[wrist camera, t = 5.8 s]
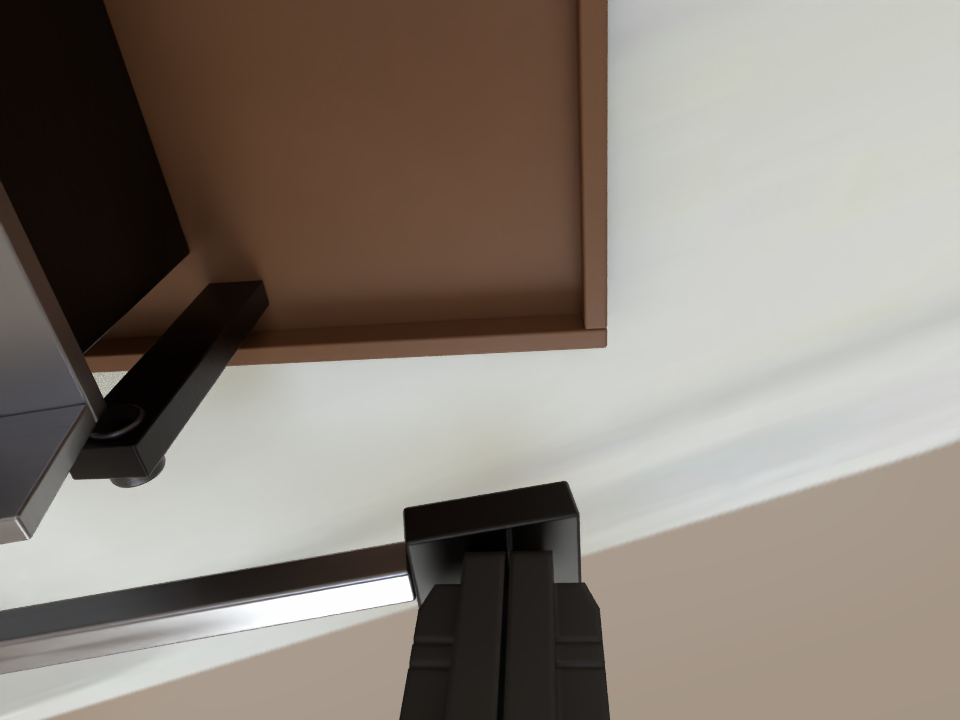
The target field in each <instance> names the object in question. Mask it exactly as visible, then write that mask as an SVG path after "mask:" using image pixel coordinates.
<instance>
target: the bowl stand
mask: <svg viewBox="0 0 960 720" xmlns="http://www.w3.org/2000/svg"><path fill="white" fill-rule="evenodd" d="M0 180H1V183H2V185H3V187H4V189H5V191H6V193H7V195H8V197H9V199H10V202H11V204H12V206H13V208H14V210H15V212H16V214H17V216H18V218H19V221H20V223H21V225H22V227H23V229H24V231H25V233H26V235H27V238H28V240H29V242H30V244H31V246H32V248H33V250H34V252H35V254H36V257H37V259H38V261H39V263H40V265H41V267H42V269H43V271H44V273H45V276H46V278H47V280H48V282H49V284H50V286H51V288H52V290H53V292H54V295H55V297H56V299H57V301H58V303H59V305H60V307H61V309H62V311H63V314H64V316H65V318H66V320H67V322H68V324H69V326H70V328H71V330H72V333H73V335H74V337H75V339H76V341H77V343H78V345H79V347H80V350H81V352H82V354H84V353H85V352H87V351H88V350H89V349H90V348H91V347H92V346H93V345H94V344H95V343H96V342H97V341H98V340H99V339H100V338H101V337H102V336H103V335H104V334H106V333H107V332H108V331H109V330H110V329H111V328H112V327H113V326H114V325H115V324H116V323H117V322H118V321H119V320H120V319H121V318H122V317H123V316H125V315H126V314H127V313H128V312H129V311H130V310H131V309H132V308H133V307H134V306H135V305H136V304H137V303H138V302H139V301H140V300H141V299H142V298H144V297H145V296H146V295H147V294H148V293H149V292H150V291H151V290H152V289H153V288H154V287H155V286H156V285H157V284H158V283H159V282H160V281H161V280H163V279H164V278H165V277H166V276H167V275H168V274H169V273H170V272H171V271H172V270H173V269H174V268H175V267H176V266H177V265H178V264H179V263H180V262H182V261H183V260H184V259H185V258H186V257H187V256H188V255H189V254H190V251H189V248H188V245H187V242H186V239H185V237H184V234H183V231H182V228H181V225H180V222H179V219H178V216H177V213H176V210H175V207H174V205H173V202H172V199H171V196H170V193H169V190H168V187H167V184H166V181H165V178H164V176H163V173H162V170H161V167H160V164H159V161H158V158H157V155H156V152H155V149H154V147H153V144H152V141H151V138H150V135H149V132H148V129H147V126H146V123H145V120H144V117H143V115H142V112H141V109H140V106H139V103H138V100H137V97H136V94H135V91H134V88H133V86H132V83H131V80H130V77H129V74H128V71H127V68H126V65H125V62H124V59H123V57H122V54H121V51H120V48H119V45H118V42H117V39H116V36H115V33H114V30H113V27H112V25H111V22H110V19H109V16H108V13H107V10H106V7H105V4H104V1H103V0H0ZM268 306H269V301H268V298H267V294H266V291H265V288H264V284H263V281H262V280H256V281H240V282H224V283H209V284H208V285H207V286H206V287H205V288H204V289H203V290H202V291H201V293H200V294H199V295H198V296H197V297H196V298H195V299H194V300H193V301H192V302H191V304H190V305H189V306H188V307H187V308H186V309H185V310H184V311H183V312H182V313H181V314H180V316H179V317H178V318H177V319H176V320H175V321H174V322H173V323H172V324H171V325H170V327H169V328H168V329H167V330H166V331H165V332H164V333H163V334H162V335H161V336H160V337H159V339H158V340H157V341H156V342H155V343H154V344H153V345H152V346H151V347H150V348H149V350H148V351H147V352H146V353H145V354H144V355H143V356H142V357H141V358H140V359H139V360H138V362H137V363H136V364H135V365H134V366H133V367H132V368H131V369H130V370H129V371H128V373H127V374H126V375H125V376H124V377H123V378H122V379H121V380H120V381H119V382H118V383H117V385H116V386H115V387H114V388H113V389H112V390H111V391H110V392H109V393H108V394H107V396H106V397H105V398H104V400H105V402H106V404H107V407H106V409H105V411H104V413H103V414H102V416H101V418H100V420H99V421H98V422H97V423H96V426H95V428H94V430H93V431H92V433H91V435H90V437H89V438H88V440H87V442H86V444H85V445H84V447H83V449H82V451H81V452H80V454H79V456H78V458H77V459H76V461H75V463H74V465H73V466H72V468H71V470H70V474H71V476H72V478H73V479H75V480H80V479H110V481H111V482H112V483H113V484H115V485H116V486H118V487H122V488H130V487H135V486H139V485H142V484H144V483H147V482H149V481H150V480H152V479H154V478H155V477H156V476H157V475H159V474H160V473H161V471H162V470H163V468H164V466H165V456H164V455H165V453H166V452H167V450H168V449H169V447H170V446H171V445H172V443H173V442H174V440H175V439H176V437H177V436H178V435H179V433H180V432H181V430H182V429H183V427H184V426H185V425H186V423H187V422H188V420H189V419H190V417H191V416H192V415H193V413H194V412H195V410H196V409H197V407H198V406H199V405H200V403H201V402H202V400H203V399H204V397H205V396H206V395H207V393H208V392H209V390H210V389H211V387H212V386H213V385H214V383H215V382H216V380H217V379H218V377H219V376H220V375H221V373H222V372H223V370H224V369H225V367H226V366H227V365H228V363H229V362H230V360H231V359H232V357H233V356H234V355H235V353H236V352H237V350H238V349H239V347H240V346H241V345H242V343H243V342H244V340H245V339H246V337H247V336H248V335H249V333H250V332H251V330H252V329H253V327H254V326H255V325H256V323H257V322H258V320H259V319H260V317H261V316H262V315H263V313H264V312H265V310H266V309H267V307H268Z"/></svg>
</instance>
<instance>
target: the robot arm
mask: <svg viewBox="0 0 960 720" xmlns="http://www.w3.org/2000/svg"><path fill="white" fill-rule="evenodd" d="M409 664H410V666H409V669H408V673H407V679H406V685H405V691H404V696H403V702H402V707H401V714H400V719H399V720H610V714H609V704H608V693H607V682H606V672H605V661H604V650H603V640H602V628H601V618H600V608H599V607H598V605H597V603H596V601H595V600H594V598H593V596H592V594H591V593H590V591H589V589H588V588H587V586H586V584H585V583H554V566H553V551H552V550H547V551H511V555H510V573H509V564H508V555H507V552H506V551H487V552H465V554H464V558H463V565H462V574H461V582H460V584H435V585H434V586H433V588H432V589H431V591H430V592H429V594H428V596H427V597H426V599H425V600H424V602H423V603H422V605H421V606H420V608H419V610H418V616H417V622H416V627H415V634H414V644H413V645H412V650H411V656H410V663H409Z"/></svg>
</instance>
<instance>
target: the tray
mask: <svg viewBox="0 0 960 720" xmlns="http://www.w3.org/2000/svg"><path fill="white" fill-rule="evenodd" d="M103 1H104V4H105V7H106V10H107V13H108V16H109V19H110V22H111V25H112V27H113V30H114V33H115V36H116V39H117V42H118V45H119V48H120V51H121V54H122V57H123V59H124V62H125V65H126V68H127V71H128V74H129V77H130V80H131V83H132V86H133V88H134V91H135V94H136V97H137V100H138V103H139V106H140V109H141V112H142V115H143V117H144V120H145V123H146V126H147V129H148V132H149V135H150V138H151V141H152V144H153V147H154V149H155V152H156V155H157V158H158V161H159V164H160V167H161V170H162V173H163V176H164V178H165V181H166V184H167V187H168V190H169V193H170V196H171V199H172V202H173V205H174V207H175V210H176V213H177V216H178V219H179V222H180V225H181V228H182V231H183V234H184V237H185V239H186V242H187V245H188V248H189V251H190V254H189V255H188V256H187V257H186V258H185V259H184V260H183V261H182V262H180V263H179V264H178V265H177V266H176V267H175V268H174V269H173V270H172V271H171V272H170V273H169V274H168V275H167V276H166V277H165V278H164V279H163V280H161V281H160V282H159V283H158V284H157V285H156V286H155V287H154V288H153V289H152V290H151V291H150V292H149V293H148V294H147V295H146V296H145V297H144V298H142V299H141V300H140V301H139V302H138V303H137V304H136V305H135V306H134V307H133V308H132V309H131V310H130V311H129V312H128V313H127V314H126V315H125V316H123V317H122V318H121V319H120V320H119V321H118V322H117V323H116V324H115V325H114V326H113V327H112V328H111V329H110V330H109V331H108V332H107V333H106V334H104V335H103V336H102V337H101V338H100V339H99V340H98V341H97V342H96V343H95V344H94V345H93V346H92V347H91V348H90V349H89V350H88V351H87V352H85V353H84V354H83V356H84V358H85V360H86V362H87V364H88V366H89V369H90V371H91V373H96V372H116V371H129V370H130V369H131V368H132V367H133V366H134V365H135V364H136V363H137V362H138V360H139V359H140V358H141V357H142V356H143V355H144V354H145V353H146V352H147V351H148V350H149V348H150V347H151V346H152V345H153V344H154V343H155V342H156V341H157V340H158V339H159V337H160V336H161V335H162V334H163V333H164V332H165V331H166V330H167V329H168V328H169V327H170V325H171V324H172V323H173V322H174V321H175V320H176V319H177V318H178V317H179V316H180V314H181V313H182V312H183V311H184V310H185V309H186V308H187V307H188V306H189V305H190V304H191V302H192V301H193V300H194V299H195V298H196V297H197V296H198V295H199V294H200V293H201V291H202V290H203V289H204V288H205V287H206V286H207V285H208V284H209V283H224V282H240V281H256V280H262V281H263V284H264V288H265V291H266V294H267V298H268V301H269V306H268V307H267V309H266V310H265V312H264V313H263V315H262V316H261V317H260V319H259V320H258V322H257V323H256V325H255V326H254V327H253V329H252V330H251V332H250V333H249V335H248V336H247V337H246V339H245V340H244V342H243V343H242V345H241V346H240V347H239V349H238V350H237V352H236V353H235V355H234V356H233V357H232V359H231V360H230V362H229V363H228V365H227V366H239V365H259V364H280V363H300V362H321V361H341V360H362V359H382V358H403V357H423V356H443V355H464V354H484V353H505V352H525V351H546V350H566V349H587V348H605V347H606V346H607V57H608V0H103Z"/></svg>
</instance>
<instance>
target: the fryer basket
mask: <svg viewBox="0 0 960 720" xmlns="http://www.w3.org/2000/svg"><path fill="white" fill-rule="evenodd" d="M106 407H107V404H106V402H105V400H104V398H103V396H102V394H101V392H100V390H99V388H98V385H97V383H96V381H95V379H94V377H93V375H92V373H91V371H90V369H89V366H88V364H87V362H86V360H85V358H84V356H83V354H82V352H81V350H80V347H79V345H78V343H77V341H76V339H75V337H74V335H73V333H72V330H71V328H70V326H69V324H68V322H67V320H66V318H65V316H64V314H63V311H62V309H61V307H60V305H59V303H58V301H57V299H56V297H55V295H54V292H53V290H52V288H51V286H50V284H49V282H48V280H47V278H46V276H45V273H44V271H43V269H42V267H41V265H40V263H39V261H38V259H37V257H36V254H35V252H34V250H33V248H32V246H31V244H30V242H29V240H28V238H27V235H26V233H25V231H24V229H23V227H22V225H21V223H20V221H19V218H18V216H17V214H16V212H15V210H14V208H13V206H12V204H11V202H10V199H9V197H8V195H7V193H6V191H5V189H4V187H3V185H2V183H1V180H0V544H5V543H11V542H17V541H23V540H28V539H30V538H31V537H32V536H33V534H34V532H35V531H36V529H37V527H38V525H39V524H40V522H41V520H42V519H43V517H44V515H45V513H46V512H47V510H48V508H49V506H50V505H51V503H52V501H53V499H54V498H55V496H56V494H57V492H58V491H59V489H60V487H61V485H62V484H63V482H64V480H65V478H66V477H67V475H68V473H69V472H70V470H71V468H72V466H73V465H74V463H75V461H76V459H77V458H78V456H79V454H80V452H81V451H82V449H83V447H84V445H85V444H86V442H87V440H88V438H89V437H90V435H91V433H92V431H93V430H94V428H95V426H96V423H97V422H98V421H99V420H100V418H101V416H102V414H103V413H104V411H105V409H106ZM403 521H404V538H405V541H403V542H397V543H392V544H386V545H380V546H374V547H368V548H362V549H357V550H351V551H345V552H339V553H333V554H328V555H322V556H316V557H310V558H304V559H299V560H293V561H287V562H281V563H275V564H269V565H264V566H258V567H252V568H246V569H240V570H235V571H229V572H223V573H217V574H211V575H205V576H200V577H194V578H188V579H182V580H176V581H171V582H165V583H159V584H153V585H147V586H142V587H136V588H130V589H124V590H118V591H112V592H107V593H101V594H95V595H89V596H83V597H78V598H72V599H66V600H60V601H54V602H49V603H43V604H37V605H31V606H25V607H19V608H14V609H8V610H2V611H0V674H6V673H11V672H17V671H22V670H28V669H34V668H39V667H45V666H51V665H56V664H62V663H67V662H73V661H79V660H84V659H90V658H95V657H101V656H107V655H112V654H118V653H124V652H129V651H135V650H140V649H146V648H152V647H157V646H163V645H169V644H174V643H180V642H185V641H191V640H197V639H202V638H208V637H213V636H219V635H225V634H230V633H236V632H242V631H247V630H253V629H258V628H264V627H270V626H275V625H281V624H287V623H292V622H298V621H303V620H309V619H315V618H320V617H326V616H332V615H337V614H343V613H348V612H354V611H360V610H365V609H371V608H376V607H382V606H388V605H393V604H399V603H405V602H410V601H414V600H415V599H416V597H417V602H418V606H419V608H420V606H421V605H422V603H423V602H424V600H425V599H426V597H427V596H428V594H429V592H430V591H431V589H432V588H433V586H434V585H435V584H460V582H461V574H462V565H463V558H464V554H465V552H487V551H506V552H507V555H508V564H509V573H510V555H511V551H547V550H552V551H553V566H554V583H581V553H580V516H579V511H578V508H577V506H576V503H575V500H574V498H573V495H572V492H571V490H570V487H569V484H568V483H567V482H566V481H561V482H555V483H549V484H543V485H537V486H531V487H525V488H519V489H513V490H507V491H501V492H495V493H489V494H483V495H478V496H472V497H466V498H460V499H454V500H448V501H442V502H436V503H430V504H424V505H418V506H412V507H407V508H405V509H404V511H403Z"/></svg>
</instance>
